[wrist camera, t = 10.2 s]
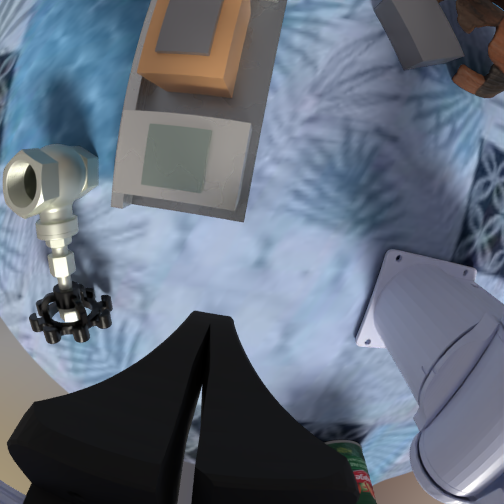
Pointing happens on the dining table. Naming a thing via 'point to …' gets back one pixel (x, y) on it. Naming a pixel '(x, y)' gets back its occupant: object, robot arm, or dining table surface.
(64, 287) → the valve
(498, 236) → the dining table surface
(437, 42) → the dark gray block
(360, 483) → the canned tomato
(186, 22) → the orange module
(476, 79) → the knobbed brown ring
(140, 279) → the dining table surface
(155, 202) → the rail plate
